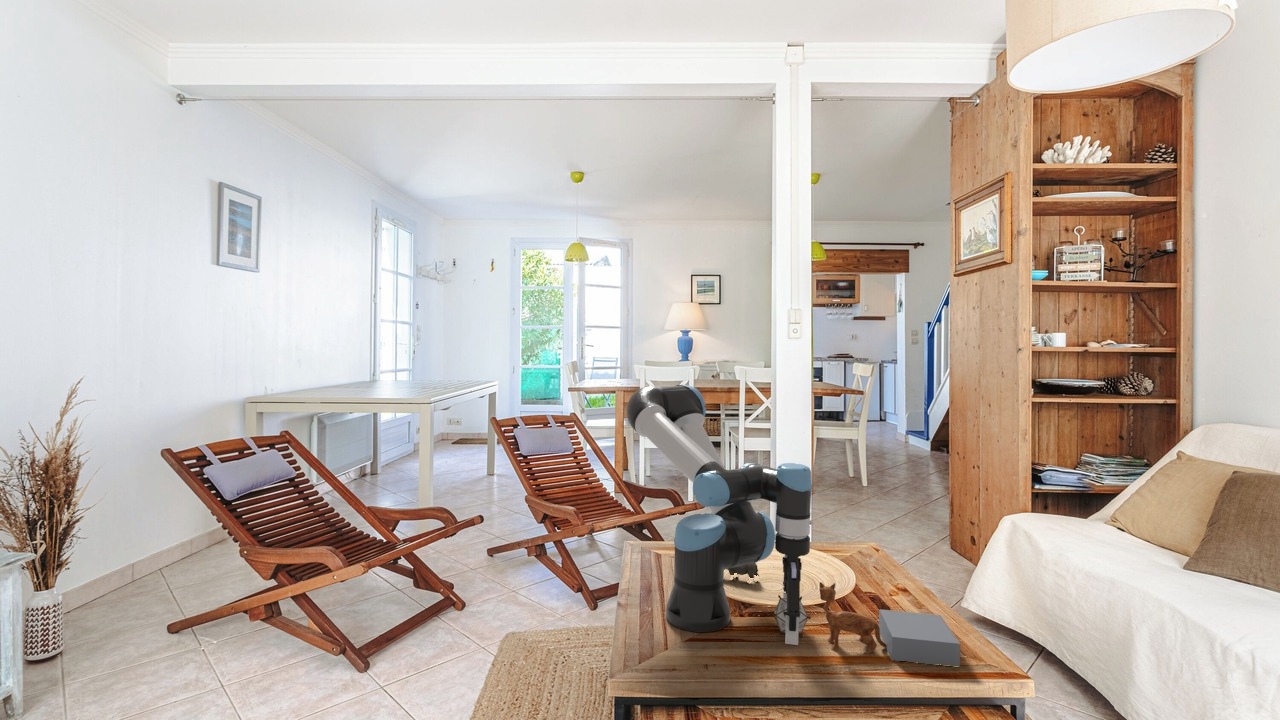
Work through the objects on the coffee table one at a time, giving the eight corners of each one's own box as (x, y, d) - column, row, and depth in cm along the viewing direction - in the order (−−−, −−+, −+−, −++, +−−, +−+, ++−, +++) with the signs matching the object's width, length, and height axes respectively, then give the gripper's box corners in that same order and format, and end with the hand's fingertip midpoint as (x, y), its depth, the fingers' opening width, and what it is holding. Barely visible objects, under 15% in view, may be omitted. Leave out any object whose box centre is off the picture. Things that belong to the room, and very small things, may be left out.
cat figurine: (895, 646, 132) (900, 585, 132) (906, 662, 125) (911, 597, 125) (812, 638, 133) (817, 577, 133) (819, 653, 127) (824, 589, 126)
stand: (891, 660, 124) (892, 636, 124) (878, 630, 137) (879, 609, 136) (959, 668, 121) (960, 643, 121) (939, 637, 134) (940, 615, 134)
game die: (794, 653, 133) (799, 631, 127) (761, 629, 138) (764, 606, 131) (815, 624, 138) (820, 601, 132) (782, 601, 143) (786, 578, 136)
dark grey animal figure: (711, 572, 169) (711, 551, 169) (760, 580, 165) (760, 558, 164) (707, 578, 166) (708, 556, 165) (757, 586, 161) (758, 563, 161)
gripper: (815, 552, 122) (812, 659, 123) (805, 520, 144) (803, 611, 145) (777, 549, 124) (774, 655, 125) (773, 518, 146) (771, 608, 147)
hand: (790, 632), depth 135 cm, fingers closed on game die, 10 cm apart
